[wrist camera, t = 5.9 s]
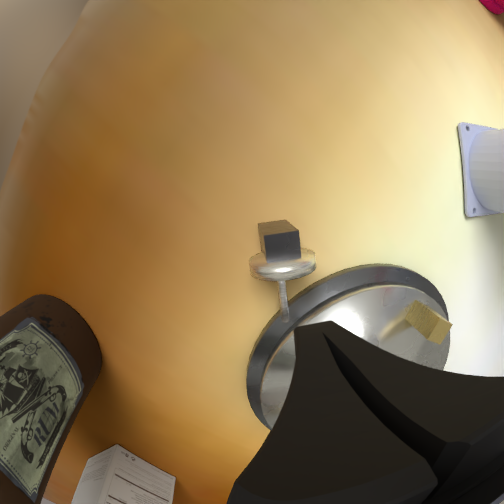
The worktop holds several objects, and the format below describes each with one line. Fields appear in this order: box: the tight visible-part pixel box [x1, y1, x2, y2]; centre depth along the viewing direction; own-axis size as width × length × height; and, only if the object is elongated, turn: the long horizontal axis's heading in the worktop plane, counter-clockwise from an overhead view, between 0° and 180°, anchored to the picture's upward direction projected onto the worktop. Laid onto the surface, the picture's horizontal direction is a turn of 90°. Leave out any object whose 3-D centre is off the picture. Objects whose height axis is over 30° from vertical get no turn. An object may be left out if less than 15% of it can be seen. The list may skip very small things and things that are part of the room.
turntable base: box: [246, 264, 449, 430], centre depth 21 cm, size 19×19×1 cm
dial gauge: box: [249, 220, 316, 323], centre depth 16 cm, size 4×6×5 cm, turn 8°
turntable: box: [260, 281, 453, 428], centre depth 18 cm, size 17×17×4 cm
